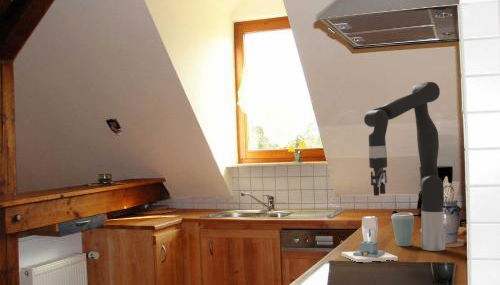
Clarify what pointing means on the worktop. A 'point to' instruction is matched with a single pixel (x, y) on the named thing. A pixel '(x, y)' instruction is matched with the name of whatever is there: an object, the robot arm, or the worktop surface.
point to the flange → (369, 249)
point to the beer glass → (369, 228)
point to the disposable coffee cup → (403, 228)
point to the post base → (369, 259)
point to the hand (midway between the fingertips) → (379, 194)
